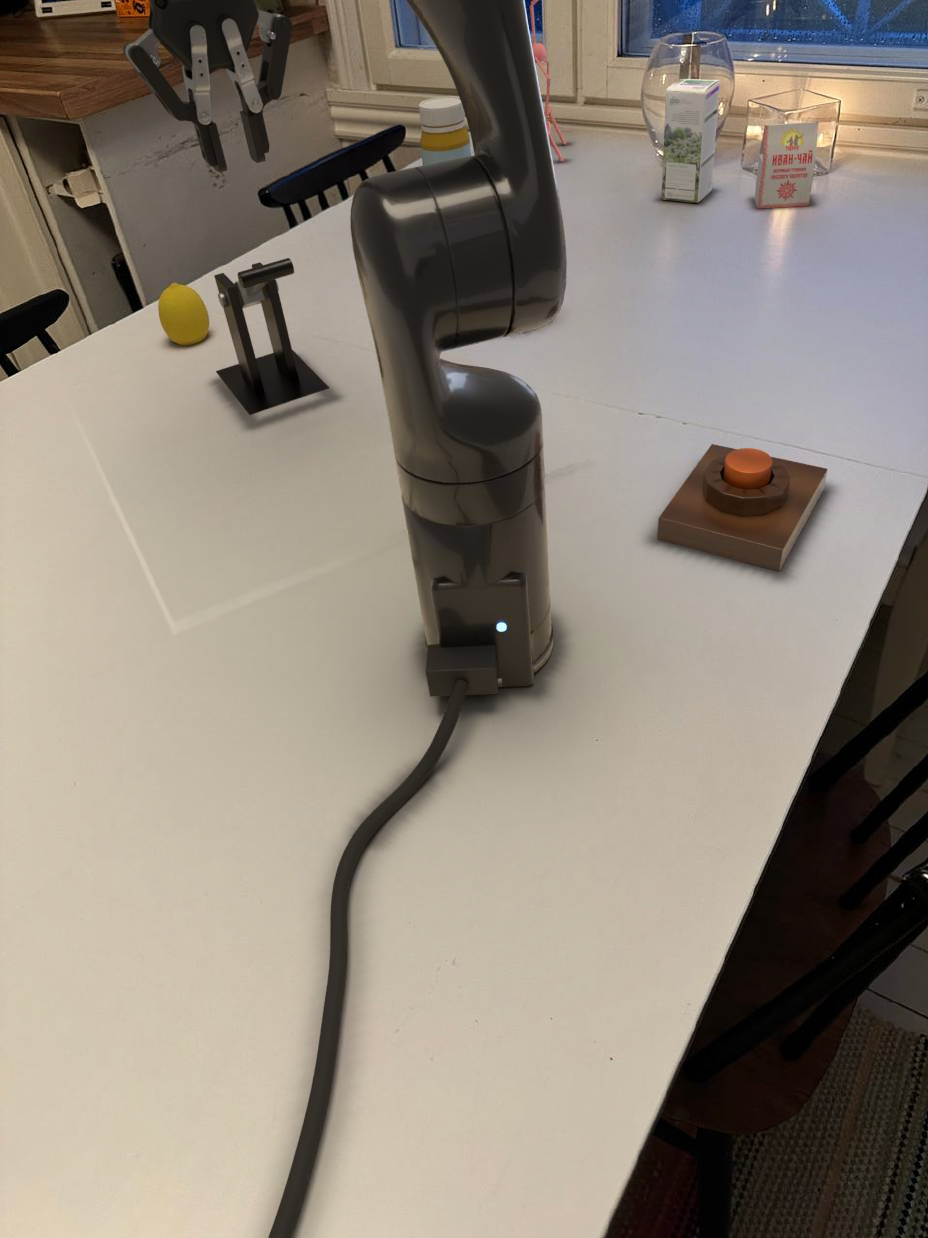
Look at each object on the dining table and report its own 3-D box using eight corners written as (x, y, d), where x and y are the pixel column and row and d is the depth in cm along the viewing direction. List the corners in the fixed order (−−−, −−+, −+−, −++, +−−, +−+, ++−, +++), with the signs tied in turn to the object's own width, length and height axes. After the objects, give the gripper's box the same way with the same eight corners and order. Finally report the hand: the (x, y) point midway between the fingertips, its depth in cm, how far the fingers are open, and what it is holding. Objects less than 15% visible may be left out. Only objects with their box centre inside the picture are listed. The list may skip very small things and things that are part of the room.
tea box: (754, 199, 130) (762, 121, 123) (804, 196, 129) (815, 117, 122) (757, 208, 127) (766, 129, 120) (808, 205, 126) (820, 125, 119)
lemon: (161, 355, 111) (139, 290, 105) (191, 335, 114) (171, 271, 109) (196, 361, 109) (176, 295, 103) (226, 341, 112) (207, 276, 107)
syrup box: (713, 190, 134) (722, 77, 124) (697, 204, 130) (705, 89, 121) (675, 187, 136) (681, 76, 127) (659, 200, 133) (664, 87, 123)
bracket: (332, 398, 99) (306, 280, 90) (252, 425, 96) (219, 307, 88) (292, 357, 107) (266, 246, 98) (218, 381, 104) (184, 269, 96)
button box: (778, 572, 71) (786, 530, 69) (656, 539, 76) (659, 499, 73) (823, 490, 79) (831, 449, 76) (709, 464, 83) (713, 425, 80)
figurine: (572, 129, 163) (569, -124, 140) (565, 177, 144) (560, -106, 121) (486, 135, 165) (468, -113, 142) (468, 183, 147) (444, -94, 123)
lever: (297, 277, 85) (288, 250, 85) (246, 292, 84) (236, 265, 83) (273, 299, 97) (264, 276, 96) (227, 313, 95) (218, 289, 94)
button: (761, 495, 73) (763, 476, 72) (716, 484, 74) (718, 466, 73) (775, 471, 75) (778, 453, 74) (732, 462, 77) (734, 443, 75)
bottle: (422, 223, 136) (408, 109, 125) (437, 205, 140) (425, 95, 130) (468, 223, 134) (457, 108, 124) (481, 206, 138) (472, 94, 128)
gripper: (93, -71, 63) (171, 196, 74) (286, -102, 67) (331, 155, 78) (72, -76, 68) (148, 174, 79) (252, -105, 72) (300, 137, 83)
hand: (239, 163), depth 79 cm, fingers open, 3 cm apart
